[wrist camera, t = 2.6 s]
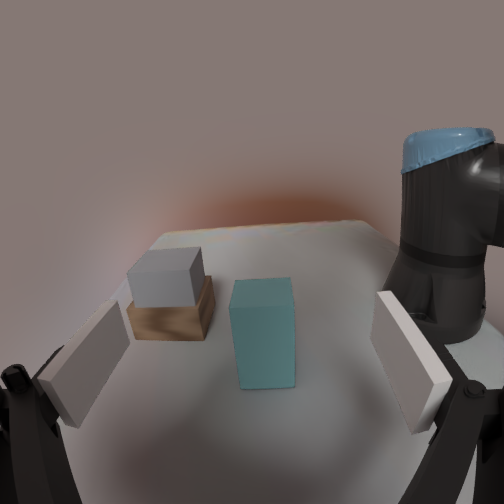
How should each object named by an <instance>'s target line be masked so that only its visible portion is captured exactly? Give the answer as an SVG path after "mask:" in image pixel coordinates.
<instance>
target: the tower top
mask: <svg viewBox="0 0 504 504" xmlns="http://www.w3.org/2000/svg"><path fill="white" fill-rule="evenodd" d="M127 277H128V281H129V285H130V289H131V293H132V297H133V301H134V304H135V308H149V307H187V306H196V303H197V300H198V298H199V295H200V292H201V289H202V286H203V283H204V280H205V273H204V267H203V260H202V252H201V247H190V248H177V249H163V250H150V251H147V252H146V253H145V254H144V255H143V256H142V257H141V258H140V259H139V260H138V261H137V262H136V263H135V265H134V266H133V267H132V268H131V269H130V270H129V271H128V272H127Z"/></svg>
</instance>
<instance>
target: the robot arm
mask: <svg viewBox="0 0 504 504" xmlns="http://www.w3.org/2000/svg"><path fill="white" fill-rule="evenodd" d="M494 141H495V136H494V134H493V131H492V130H490V129H487V128H472V127H468V128H467V127H466V128H465V127H463V128H442V129H432V130H425V131H419V132H415V133H412V134H410V135H409V136H408V137H407V138H406V139H405V141H404V144H403V166H402V170H401V174H402V215H401V236H400V247H399V253H398V256H397V258H396V260H395V263H394V265H393V267H392V269H391V272H390V274H389V276H388V278H387V281H386V283H385V285H384V287H383V290H382V291H381V292H376V300H375V308H374V316H373V323H372V329H371V336H370V339H371V341H372V343H373V345H374V348H375V350H376V352H377V354H378V356H379V358H380V361H381V363H382V365H383V367H384V370H385V372H386V374H387V376H388V379H389V381H390V383H391V386H392V388H393V390H394V393H395V395H396V397H397V400H398V402H399V405H400V407H401V409H402V412H403V414H404V417H405V419H406V422H407V424H408V427H409V429H410V432H411V435H413V434H416V433H420V432H424V431H428V430H429V429H430V427H431V425H432V423H433V421H434V422H435V424H436V426H437V429H436V431H435V433H434V434H433V436H432V438H431V440H430V441H429V443H428V444H429V446H428V449H427V451H426V453H425V455H424V457H423V459H422V461H421V463H420V465H419V467H418V469H417V471H416V473H415V475H414V477H413V479H412V480H411V482H410V484H409V486H408V488H407V489H406V491H405V493H404V495H403V496H402V498H401V500H400V501H399V503H398V504H455V503H456V501H457V499H458V496H459V494H460V491H461V489H462V486H463V484H464V481H465V478H466V475H467V473H468V470H469V467H470V464H471V461H472V458H473V455H474V451H475V448H476V445H477V461H476V476H475V487H474V495H473V503H472V504H504V386H503V388H502V389H491V390H487V389H486V387H485V386H484V385H483V384H482V383H480V382H478V381H476V380H468V378H467V377H466V375H465V374H464V372H463V371H462V369H461V368H460V367H459V365H458V364H457V362H456V361H455V359H453V357H452V355H451V354H450V353H449V351H448V350H447V348H446V347H445V346H444V344H453V343H458V342H462V341H465V340H467V339H469V338H471V337H473V336H474V335H475V334H476V333H477V332H478V331H479V329H480V328H481V325H482V322H483V318H484V315H485V311H486V301H485V275H484V262H485V256H486V250H487V245H493V246H498V247H502V248H504V144H499V143H494ZM129 345H130V341H129V338H128V334H127V331H126V328H125V325H124V321H123V318H122V315H121V311H120V308H119V304H118V301H112V300H106V301H105V302H104V303H103V304H102V305H101V306H100V307H99V308H98V309H97V310H96V311H95V312H94V314H93V315H92V316H91V317H90V318H89V319H88V320H87V321H86V322H85V323H84V324H83V325H82V327H81V328H80V329H79V330H78V331H77V332H76V333H75V334H74V335H73V337H72V338H71V339H70V340H69V341H68V342H67V343H66V344H65V345H63V346H62V347H60V348H59V349H58V350H56V351H55V352H54V353H53V354H52V356H51V357H50V358H49V359H48V360H47V361H46V364H44V365H43V366H42V367H41V368H40V369H39V371H38V372H37V373H36V374H35V375H34V377H33V378H32V379H30V377H29V375H28V373H27V371H26V369H25V368H24V366H23V365H21V364H14V365H11V366H9V367H7V368H6V369H5V370H4V371H3V372H2V374H1V379H2V380H3V382H4V384H5V386H6V387H7V389H2V387H1V386H0V426H1V427H0V504H82V501H81V498H80V496H79V493H78V490H77V487H76V484H75V481H74V478H73V475H72V472H71V469H70V465H69V462H68V458H67V455H66V451H65V447H64V443H63V439H62V435H61V431H60V426H59V424H58V423H57V421H56V420H57V419H58V417H59V416H60V417H61V419H62V420H63V422H64V423H65V425H68V426H71V427H75V428H78V429H79V427H80V425H81V424H82V422H83V420H84V418H85V417H86V415H87V413H88V411H89V410H90V408H91V406H92V405H93V403H94V401H95V400H96V398H97V396H98V395H99V393H100V391H101V390H102V388H103V386H104V385H105V383H106V381H107V380H108V378H109V376H110V375H111V373H112V372H113V370H114V368H115V367H116V365H117V364H118V362H119V360H120V359H121V357H122V356H123V354H124V352H125V351H126V349H127V348H128V346H129Z"/></svg>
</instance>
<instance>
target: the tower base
mask: <svg viewBox="0 0 504 504" xmlns="http://www.w3.org/2000/svg"><path fill="white" fill-rule="evenodd" d="M214 306H215V299H214V292H213V285H212V278H211V276H205V280H204V283H203V286H202V289H201V292H200V295H199V298H198V300H197V303H196V306H187V307H149V308H135V304H134V301H132V303H131V304H130V305H129V307H128V308H127V309H126V310H127V314H128V317H129V320H130V324H131V327H132V330H133V333H134V336H135V339H136V340H161V341H204V340H205V336H206V333H207V329H208V326H209V323H210V319H211V316H212V313H213V309H214Z"/></svg>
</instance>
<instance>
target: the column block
mask: <svg viewBox="0 0 504 504" xmlns="http://www.w3.org/2000/svg"><path fill="white" fill-rule="evenodd" d="M229 313H230V320H231V327H232V334H233V341H234V348H235V355H236V362H237V369H238V375H239V382H240V388H241V389H270V388H290V387H295V320H294V300H293V293H292V286H291V279H290V277H289V278H271V279H252V280H235V284H234V288H233V293H232V297H231V301H230V305H229Z"/></svg>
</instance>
